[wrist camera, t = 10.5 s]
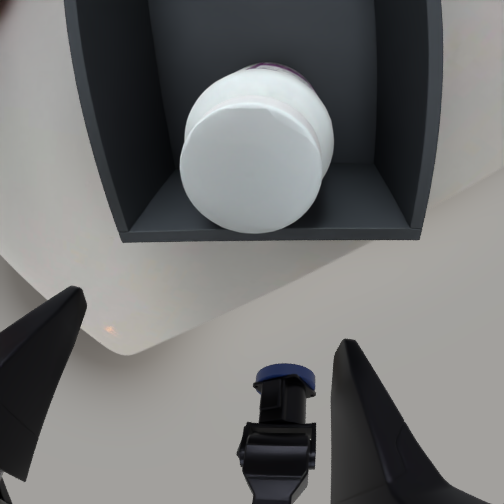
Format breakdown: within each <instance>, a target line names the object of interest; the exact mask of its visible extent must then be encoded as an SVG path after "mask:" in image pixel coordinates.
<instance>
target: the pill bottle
mask: <svg viewBox="0 0 504 504" xmlns="http://www.w3.org/2000/svg"><path fill="white" fill-rule="evenodd" d="M184 141H185V142H184V145H183V148H182V152H181V156H180V175H181V180H182V184H183V187H184V189H185V192H186V194H187V196H188V198H189V199H190V201H191V202H192V204H193V205H194V206H195V207H196V208H197V210H198V211H199V212H200V213H201V214H202V215H204V216H205V217H206V218H208V219H209V220H210V221H212V222H214V223H215V224H217V225H219V226H221V227H223V228H226V229H229V230H232V231H236V232H240V233H253V234H259V233H267V232H273V231H276V230H279V229H282V228H284V227H286V226H288V225H290V224H292V223H293V222H295V221H297V220H298V219H299V218H300V217H301V216H302V215H303V214H304V213H306V212H307V210H308V209H309V208H310V207H311V205H312V204H313V202H314V201H315V199H316V197H317V194H318V192H319V189H320V186H321V182H322V179H323V177H324V176H325V174H326V172H327V170H328V168H329V165H330V163H331V159H332V155H333V149H334V134H333V128H332V121H331V119H330V116H329V114H328V111H327V109H326V108H325V106H324V104H323V103H322V101H321V100H320V98H319V97H318V95H317V93H316V92H315V90H314V89H313V87H312V86H311V84H310V83H309V82H308V80H307V79H306V78H305V77H304V76H303V75H301V74H300V73H299V72H297V71H296V70H294V69H292V68H290V67H288V66H285V65H282V64H278V63H271V62H265V63H256V64H252V65H249V66H247V67H244V68H243V69H240V70H238V71H236V72H234V73H232V74H230V75H228V76H226V77H224V78H222V79H220V80H218V81H216V82H214V83H213V84H212V85H211V86H209V87H208V88H207V89H206V90H205V91H204V92H203V93H202V94H201V95H200V97H199V98H198V99H197V101H196V102H195V104H194V106H193V107H192V109H191V111H190V114H189V116H188V119H187V123H186V128H185V137H184Z"/></svg>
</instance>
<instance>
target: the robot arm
mask: <svg viewBox="0 0 504 504" xmlns="http://www.w3.org/2000/svg"><path fill="white" fill-rule="evenodd" d="M86 309H87V303H86V300H85V297H84V293H83V290H82V289H81V288H80V287H76V286H70V287H68V288H66V289H65V290H63V291H62V292H60V293H58V294H57V295H55V296H54V297H52V298H51V299H49V300H48V301H46V302H45V303H43V304H42V305H40V306H39V307H37V308H35V309H34V310H32V311H31V312H29V313H28V314H26V315H25V316H24V317H22V318H21V319H19V320H18V321H16V322H15V323H14V324H12V325H10V326H9V327H7V328H6V329H5V330H3V331H2V332H0V504H12V502H11V499H10V497H9V494H8V492H7V489H6V486H5V484H4V481H3V478H2V475H3V472H6V473H8V474H10V475H12V476H14V477H16V478H18V479H20V480H22V481H24V482H25V481H26V478H27V475H28V471H29V468H30V464H31V461H32V458H33V454H34V451H35V448H36V444H37V441H38V437H39V435H40V432H41V429H42V426H43V423H44V420H45V417H46V414H47V411H48V409H49V406H50V403H51V401H52V398H53V395H54V393H55V390H56V388H57V385H58V382H59V380H60V378H61V375H62V373H63V370H64V368H65V366H66V363H67V361H68V358H69V356H70V354H71V352H72V349H73V347H74V344H75V341H76V338H77V335H78V332H79V330H80V327H81V324H82V321H83V318H84V315H85V312H86ZM253 387H254V388H255V389H256V390H258V391H259V392H260V393H261V400H260V415H259V423H251V422H247V425H246V426H245V427H244V431H243V437H242V440H241V443H240V445H239V448H238V451H237V456H238V457H239V459H240V465H241V467H243V469H242V471H243V474H244V476H245V479H246V482H247V484H248V486H249V488H250V490H251V492H252V494H253V502H252V504H293V503H294V502H295V500H296V499H297V498H298V497H299V496H300V494H301V493H302V492H303V491H304V490H305V488H306V487H307V484H308V470H311V469H315V455H316V423H310V424H305V418H306V417H305V416H306V398H310V397H314V396H315V395H316V392H315V391H314V390H313V389H312V388H311V387H310V386H309V385H308V384H307V383H306V382H305V381H304V380H303V379H301V378H300V377H299V376H298V375H297V374H290V375H286V376H282V377H277V378H273V379H269V380H264V381H259V382H255V383H253ZM310 439H311V440H310ZM331 445H332V448H331V449H332V450H331V451H332V452H331V453H332V454H331V456H332V458H331V459H332V460H331V504H490V503H487V502H485V501H482V500H481V499H478V498H476V497H474V496H472V495H469V494H467V493H465V492H463V491H461V490H459V489H457V488H455V487H453V486H452V485H450V484H449V483H448V482H447V481H446V480H445V479H444V478H443V477H442V476H441V475H440V474H439V472H438V470H437V469H436V468H435V466H434V465H433V464H432V462H431V461H430V459H429V458H428V457H427V455H426V454H425V453H424V451H423V450H422V448H421V447H420V445H419V444H418V442H417V441H416V439H415V438H414V436H413V434H412V433H411V431H410V430H409V428H408V426H407V424H406V423H405V422H404V419H403V417H402V416H401V414H400V412H399V411H398V409H397V407H396V406H395V404H394V402H393V400H392V399H391V397H390V395H389V394H388V392H387V390H386V389H385V387H384V386H383V384H382V383H381V381H380V379H379V377H378V376H377V374H376V372H375V371H374V369H373V367H372V366H371V364H370V363H369V361H368V359H367V358H366V356H365V355H364V353H363V351H362V350H361V348H360V346H359V345H358V343H357V342H356V341H355V340H352V339H343V340H342V342H341V343H340V345H339V347H338V349H337V351H336V352H335V356H334V363H333V377H332V390H331Z"/></svg>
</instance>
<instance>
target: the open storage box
mask: <svg viewBox="0 0 504 504" xmlns="http://www.w3.org/2000/svg"><path fill="white" fill-rule="evenodd" d="M64 6H65V16H66V24H67V32H68V39H69V45H70V52H71V58H72V63H73V69H74V74H75V80H76V85H77V89H78V94H79V99H80V103H81V108H82V112H83V116H84V120H85V124H86V128H87V132H88V136H89V140H90V144H91V147H92V151H93V155H94V158H95V162H96V165H97V169H98V172H99V175H100V179H101V182H102V185H103V188H104V191H105V194H106V198H107V201H108V204H109V207H110V210H111V212H112V215H113V218H114V221H115V224H116V227H117V230H118V232H119V235H120V238H121V241H122V243H131V242H186V241H266V240H420V235H421V231H422V227H423V222H424V218H425V213H426V209H427V204H428V199H429V193H430V188H431V182H432V176H433V170H434V164H435V157H436V150H437V142H438V133H439V124H440V113H441V100H442V82H443V24H442V7H441V0H64ZM265 62H271V63H278V64H282V65H285V66H288V67H290V68H292V69H294V70H296V71H297V72H299V73H300V74H301V75H303V76H304V77H305V78H306V79H307V80H308V82H309V83H310V84H311V86H312V87H313V89H314V90H315V92H316V93H317V95H318V97H319V98H320V100H321V101H322V103H323V104H324V106H325V108H326V109H327V111H328V114H329V116H330V119H331V121H332V128H333V134H334V149H333V155H332V159H331V163H330V165H329V168H328V170H327V172H326V174H325V176H324V177H323V179H322V182H321V186H320V189H319V192H318V194H317V197H316V199H315V201H314V202H313V204H312V205H311V207H310V208H309V209H308V210H307V212H306V213H304V214H303V215H302V216H301V217H300V218H299V219H298V220H297V221H295V222H293V223H292V224H290V225H288V226H286V227H284V228H282V229H279V230H276V231H273V232H267V233H259V234H253V233H240V232H236V231H232V230H229V229H226V228H223V227H221V226H219V225H217V224H215V223H214V222H212V221H210V220H209V219H208V218H206V217H205V216H204V215H202V214H201V213H200V212H199V211H198V210H197V208H196V207H195V206H194V205H193V204H192V202H191V201H190V199H189V198H188V196H187V194H186V192H185V189H184V187H183V184H182V180H181V175H180V156H181V152H182V148H183V145H184V142H185V141H184V137H185V128H186V123H187V119H188V116H189V114H190V111H191V109H192V107H193V106H194V104H195V102H196V101H197V99H198V98H199V97H200V95H201V94H202V93H203V92H204V91H205V90H206V89H207V88H208V87H209V86H211V85H212V84H213V83H214V82H216V81H218V80H220V79H222V78H224V77H226V76H228V75H230V74H232V73H234V72H236V71H238V70H240V69H243V68H244V67H247V66H249V65H252V64H256V63H265Z"/></svg>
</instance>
